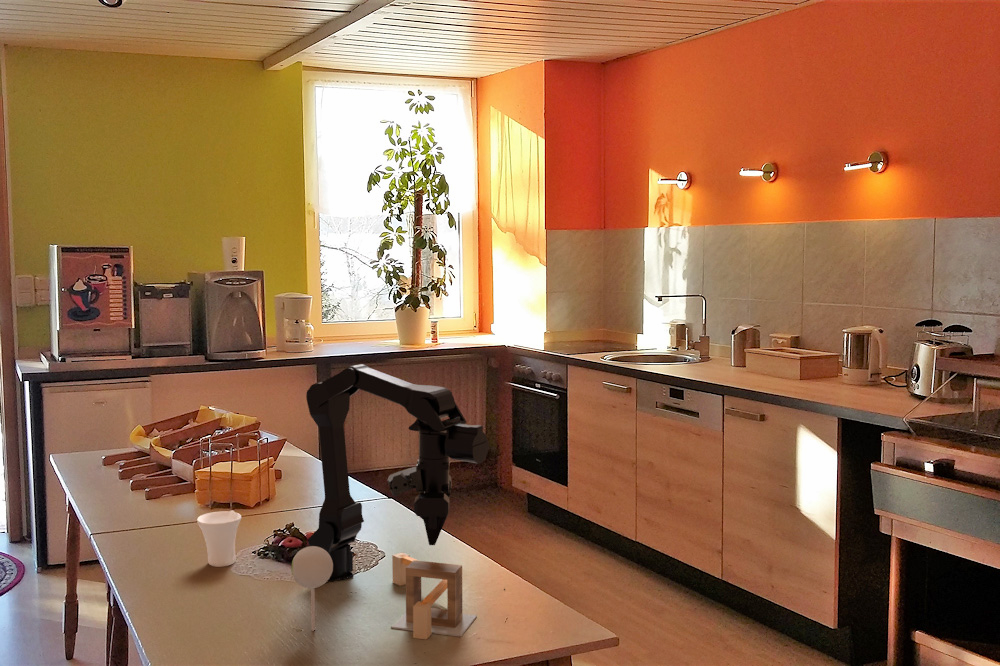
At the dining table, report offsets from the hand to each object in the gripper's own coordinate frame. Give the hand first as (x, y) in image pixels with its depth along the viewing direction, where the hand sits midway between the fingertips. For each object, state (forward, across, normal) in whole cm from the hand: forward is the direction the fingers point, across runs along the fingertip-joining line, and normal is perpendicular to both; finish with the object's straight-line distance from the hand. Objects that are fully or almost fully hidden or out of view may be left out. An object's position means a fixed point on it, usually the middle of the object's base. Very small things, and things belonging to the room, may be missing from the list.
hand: (433, 536), depth 186 cm
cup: (+13, -21, -45) cm, 52 cm away
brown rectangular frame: (+12, +11, +1) cm, 16 cm away
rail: (+12, +4, -2) cm, 13 cm away
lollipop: (+12, +14, -20) cm, 28 cm away
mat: (+12, +11, +1) cm, 16 cm away
